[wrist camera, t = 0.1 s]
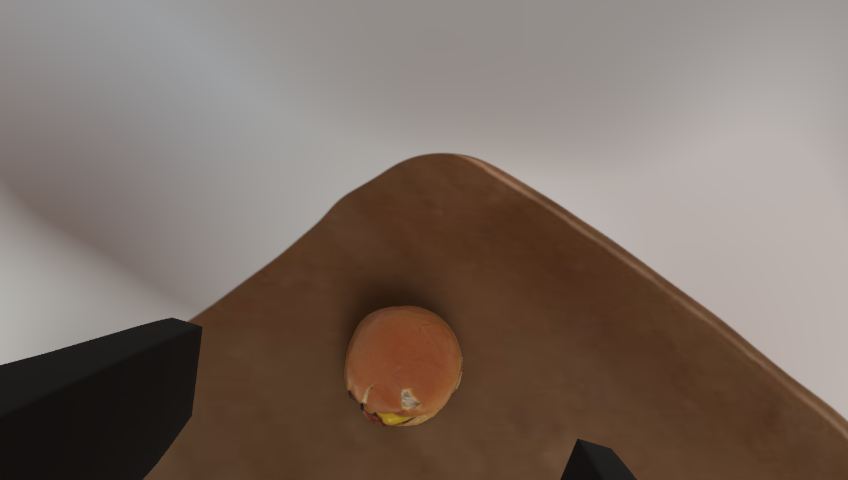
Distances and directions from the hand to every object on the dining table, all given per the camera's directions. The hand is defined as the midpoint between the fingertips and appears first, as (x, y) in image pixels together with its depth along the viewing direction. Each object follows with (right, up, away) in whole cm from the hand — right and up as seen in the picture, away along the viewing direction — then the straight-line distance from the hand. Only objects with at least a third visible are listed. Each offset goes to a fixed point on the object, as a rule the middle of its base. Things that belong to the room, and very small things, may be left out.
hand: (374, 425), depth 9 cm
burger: (-1, -8, +33) cm, 34 cm away
